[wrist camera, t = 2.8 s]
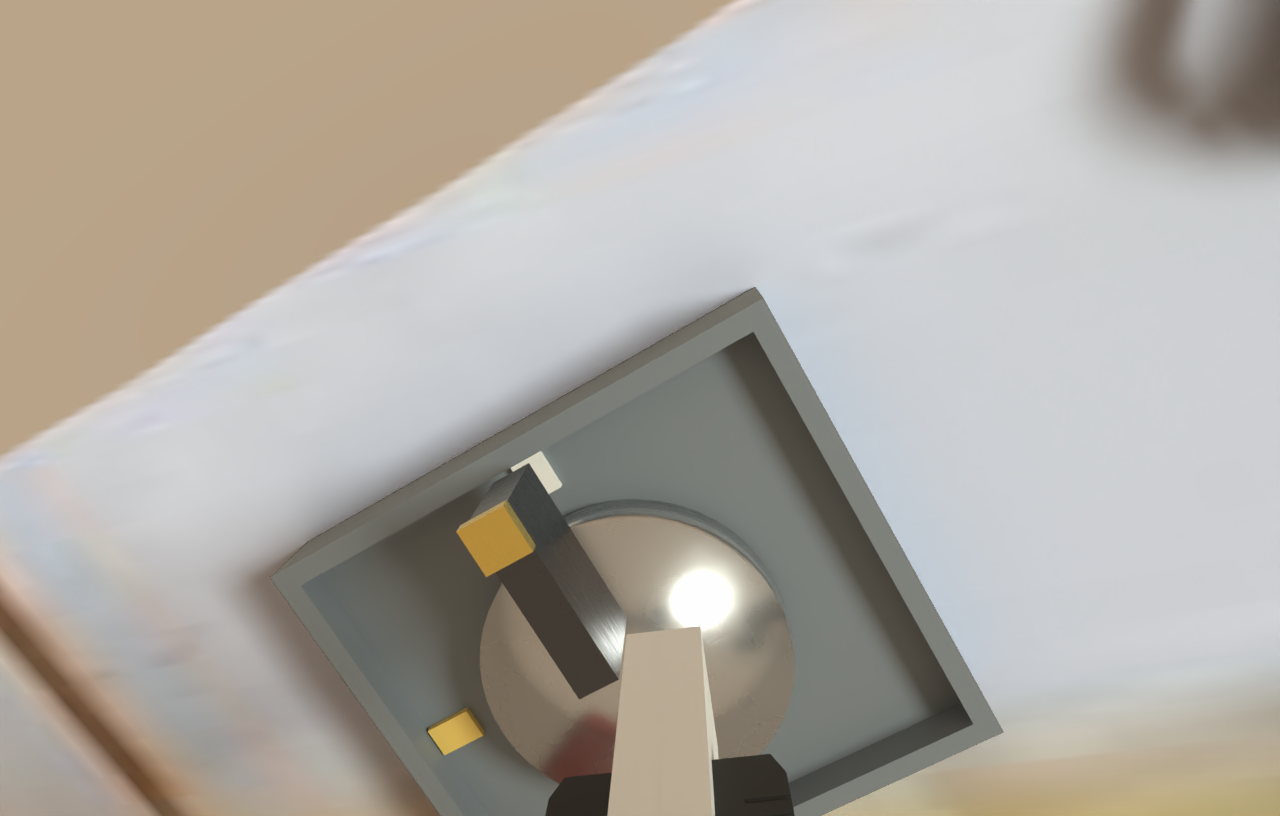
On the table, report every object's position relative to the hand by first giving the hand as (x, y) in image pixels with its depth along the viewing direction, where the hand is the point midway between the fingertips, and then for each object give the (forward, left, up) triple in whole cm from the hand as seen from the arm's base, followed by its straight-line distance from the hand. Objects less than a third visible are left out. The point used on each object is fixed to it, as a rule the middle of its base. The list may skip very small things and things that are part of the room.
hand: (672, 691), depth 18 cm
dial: (-3, +4, -14) cm, 15 cm away
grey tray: (-5, +4, -16) cm, 17 cm away
